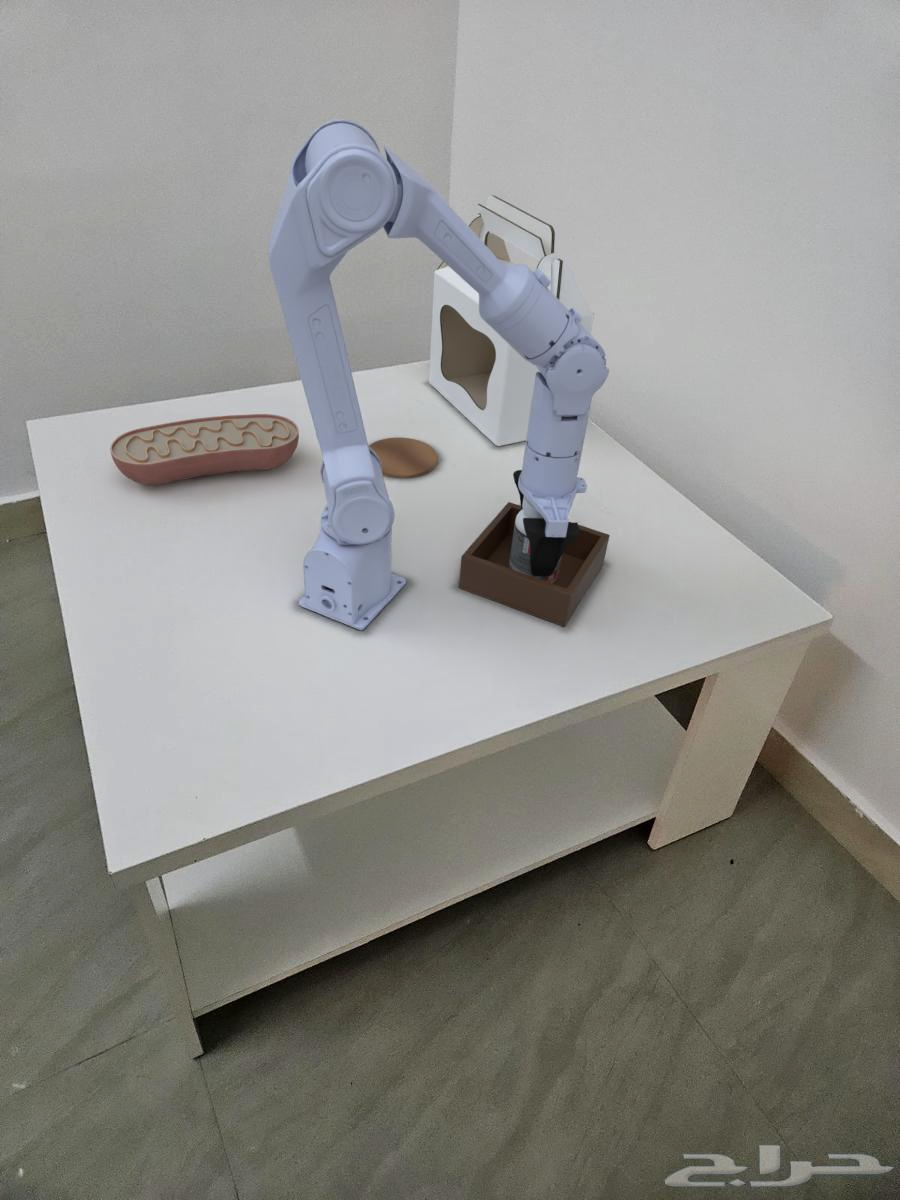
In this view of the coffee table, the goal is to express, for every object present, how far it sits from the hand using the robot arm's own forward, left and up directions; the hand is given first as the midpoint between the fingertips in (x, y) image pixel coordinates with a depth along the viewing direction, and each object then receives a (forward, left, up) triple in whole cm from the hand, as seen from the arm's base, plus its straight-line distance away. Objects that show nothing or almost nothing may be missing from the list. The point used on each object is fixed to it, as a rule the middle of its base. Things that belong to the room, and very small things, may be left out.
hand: (536, 552), depth 91 cm
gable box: (+36, +21, -3) cm, 42 cm away
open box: (0, 0, -3) cm, 3 cm away
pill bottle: (0, 0, -3) cm, 3 cm away
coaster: (+14, +26, -3) cm, 29 cm away
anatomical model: (-2, +45, -3) cm, 45 cm away
